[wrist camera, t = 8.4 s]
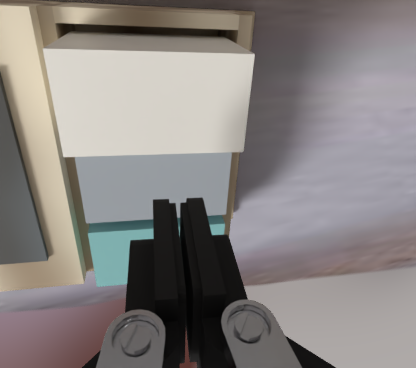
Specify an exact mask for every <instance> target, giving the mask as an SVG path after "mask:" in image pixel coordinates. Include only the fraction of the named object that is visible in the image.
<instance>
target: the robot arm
mask: <svg viewBox="0 0 416 368" xmlns="http://www.w3.org/2000/svg"><path fill="white" fill-rule="evenodd" d="M153 235H154V239H141V240H130V249H129V264H128V278H127V293H126V309H125V313H123V314H122V315H120V316H119V317H118V318H116V319H115V320H114V321H113V322H112V323H111V324H110V326H109V328H108V330H107V332H106V334H105V337H104V341H103V345H102V348H101V350H100V351H99V352H98V353H97V354H96V355H95V356H94V357H93V358H92V359H91V360H90V361H89V362H88V363H86V364H85V365H84V366H83V367H82V368H179V364H180V363H184V362H185V361H184V360H185V332H186V331H187V340H188V350H189V358H190V362H196V361H197V368H335V367H334V366H332V365H331V364H329V363H328V362H326V361H324V360H323V359H321V358H319V357H318V356H316V355H315V354H313V353H312V352H310V351H308V350H307V349H305V348H303V347H302V346H301V345H299V344H297V343H296V342H294V341H293V340H291V339H289V338H288V337H286V336H285V335H284V333H283V331H282V330H281V328H280V326H279V324H278V322H277V321H276V318H275V317H274V315H273V314H272V313H271V311H270V310H269V309H268V308H266V307H265V306H264V305H263V304H260V303H258V302H256V301H252V300H248V299H247V295H246V292H245V289H244V285H243V282H242V279H241V276H240V272H239V269H238V266H237V262H236V259H235V256H234V253H233V249H232V246H231V243H230V239H229V237H228V235H227V234H224V235H212V233H211V229H210V225H209V221H208V217H207V212H206V208H205V204H204V200H203V198H202V197H201V198H187V199H186V202H183V203H180V236H179V227H178V219H177V210H176V203H169V199H153Z"/></svg>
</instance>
